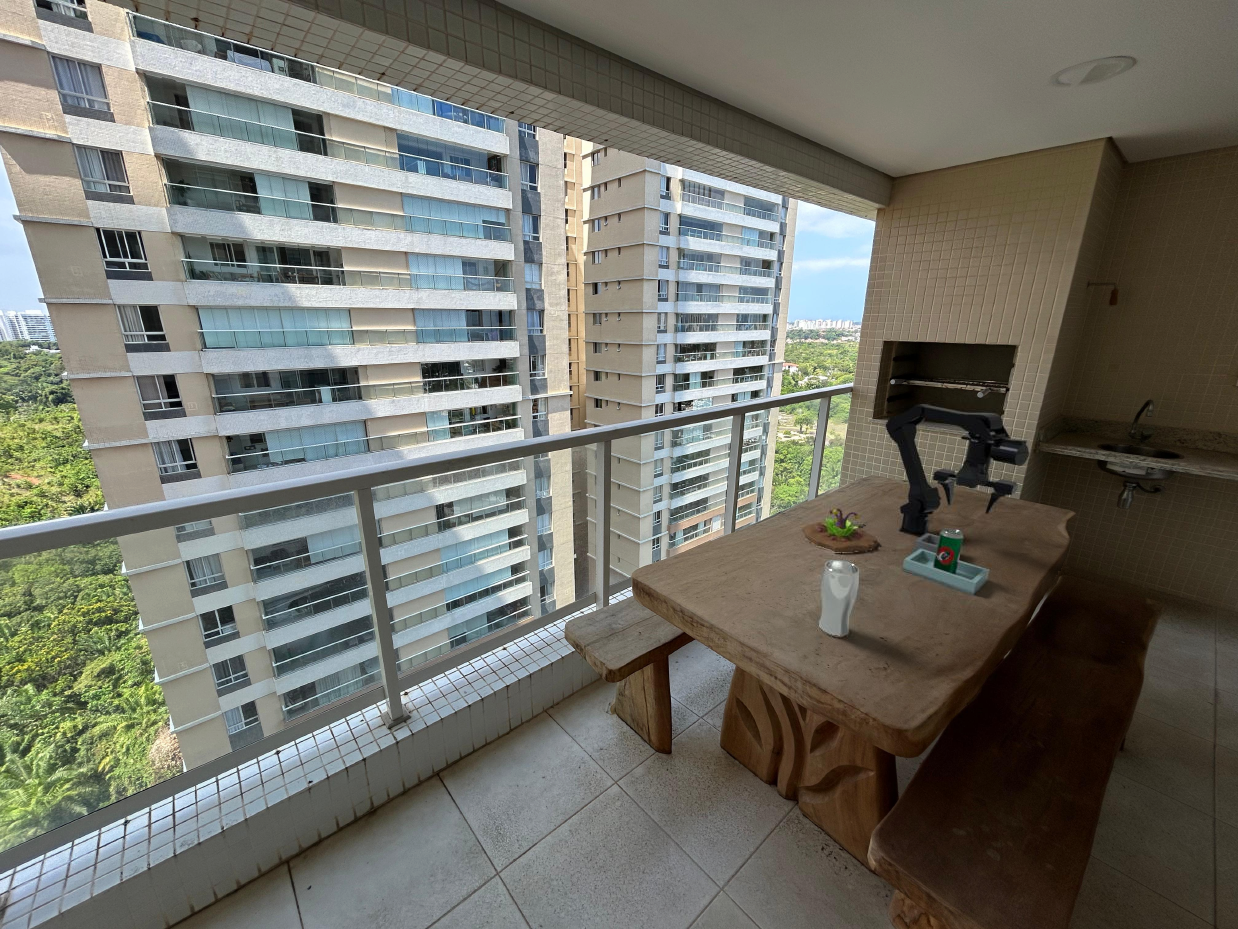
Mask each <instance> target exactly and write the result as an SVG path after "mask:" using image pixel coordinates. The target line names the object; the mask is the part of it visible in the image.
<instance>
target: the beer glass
mask: <svg viewBox="0 0 1238 929" xmlns="http://www.w3.org/2000/svg"><path fill="white" fill-rule="evenodd" d="M859 579H860V568H859V567H858V566H857V565H855V564H854V563H851V562H849V561H846V560H841V559H829V560H827V561H826V562H825V563H824V567H823V571H822V577H821V584H820V590H821V591H820V594H821V615H820V619H819V621H818V624H819V627H820V628H821V629H822V630H823V631H825V632H827V633H829V634H832V635H838V636H840V635H847V634H848V633H849V634H850V624H849V621H850V620H849V619H850V615H851V612H852V610H853V607H854V605H855V603H856V602H855V601H856V600H857V595H858V591H859V582H860V581H859ZM819 627H818V628H819ZM849 634H848V635H849ZM848 635H847V636H848Z"/></svg>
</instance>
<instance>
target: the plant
mask: <svg viewBox="0 0 1238 929" xmlns="http://www.w3.org/2000/svg"><path fill="white" fill-rule="evenodd" d="M838 513H839V514H838ZM828 514H829V515H833V514H834V516H835V517H836V518H834V519H832V518H829V517H826V518H825V519H826V520H825V521H826V522H815V523H811V524H807V525H804V526H803V527H802V529H801V533H802V532H803V533H804V535H805V537H804V539H805V538H807V539H808V540H809V541H811V542H813V543H814V544H815V545H817V546H821V547H824V548H827V549H830V550H832V551H834V552H841V553H842V552H855V551H868V550H869V549H874V548H875V547H877V546H878V539H877V537H875V535H873V534H870V533H868V532H866V531H865V530H863V529H861V528H859V527H858V526H856V525H855V526H854V525H853V526H851V524H852V521H850V520H849V517H850V516H851V515H853V517H854V518H855V519H859V516H860V515H859V514H858V513H856V512H853V511H851V512H849V513H847V514H846V515H845V516H843V511H842V509H841V508H835V509H834V510H833V509H829V510H828ZM869 551H870V550H869ZM869 551H868V552H869Z"/></svg>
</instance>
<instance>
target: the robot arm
mask: <svg viewBox="0 0 1238 929" xmlns="http://www.w3.org/2000/svg"><path fill="white" fill-rule="evenodd" d="M925 419H926V420H931V421H935V422H938V423H939V422H940V423H943V424H949V425H953V426H956V427H959V428H961V429H962V430H964V431H965V432H967V433H966V434H965V435H962V436H961V437H960V439H961V440H962V441H963V440H964V441H968V444H967V448H966V455H965V459H964V461H963V465H962V466H961V468H960V469H959V470H958V472H957V473H956V470H953V469H952V470H951V469H947V468H940V469H938V470H936V471H934V472H933V474H932V475H933V476H932V480H933V481H936V483H937V484H938V485H941V487H942V489H943V490H944V494H945V498H946V501H947V505H949V506H951V504H952V502H953V497H954V492H955V485H956V486H958V487H961V486H962V487H966V488H969V489H975V488H977V487H978V486H981V487H985V488H991V489H993V491H992V492H991V493H990V498H989V501H988V505H987V506H986V510H985V514H986V515H987V514H989V513H990V511H991V510H992V509H993V507H994V506H995V505H996V503H998V502H999V500H1000V499H1001V498H1002V497H1004V498H1005V497H1007V496H1012V495H1014V494H1015V493H1016V492H1017V491H1018V487H1019V486H1018V483H1017V481H1014V480H1007V479H1002V478H1000V479H999V480H997V481H994V480H990V478H989V477H990V475H989V471H990V467H991V463H992V460H993V461H994V462H998V463H1002V464H1008V465H1013V466H1018V467H1021V466H1023V465H1024V464H1025V463H1026V462H1027V460H1028V458H1029V457H1030V451H1029V447H1028V445H1027V442H1028V441H1027V440H1026V439H1014V438H1011V436H1010V434H1009V433H1008V431H1007V429H1006V427H1005V426H1004V421H1003V418H1002V417H1001V415H1000V414H998V413H993V412H963V411H960V410H956V409H955V410H954V409H949V408H944V407H940V406H933V405H930V404H928V403H926V404H925V403H924V404H916V405H914V406H913V407H911V408H910V409H908V410H905V411H904V412H902V413H900V414H898V415H896V416H892V417H890V418H888V420H887V422H886V423H885V430H886V432H887V434H888V435H889V437H890V439H891V440H893V441H894V443H895V444H896V446H897V447H898V451H899V454H900V458H901V461H902V464H903V467H904V471H905V474H906V478H907V481H908V484H909V489H908V494H907V500H908V502H906V503H905V504H903V505H901V506H900V507H899V511H900V514H901V515H902V516H903V517H902V522H901V527H899V528H898V531H900V532H903V533H907V534H909V535H913V536H915V537H916V536H917V537H922V536H923V535H925V534H927V533H928V531H929V528H930V520H929V517H930V515H933V513H934V512H935V511H937V510H938V509H939V508H940V506H941V500H942V497H941V496H940V493H939V488H938V487H937V486H936V487H932V486H931V485H930V484H929V482H928V480H927V476H926V473H925V470H924V466H923V464H922V461H921V458H920V454H919V451H918V448H917V447H918V446H917V443H916V437H917V436H916V435H917V432H918V431H917V426H919V425H920V424H921V423H923V421H924V420H925Z"/></svg>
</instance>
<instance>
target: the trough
mask: <svg viewBox="0 0 1238 929" xmlns="http://www.w3.org/2000/svg"><path fill="white" fill-rule="evenodd" d="M935 555H936V553H933V552H930V551H927V550H924V549H919V550H917V551H916V552H914V553H913V552H912V553H911V554H910V555H909V556H907V557H905V558H904V560H903V565H902V571H903V570H904V571H903V572H907V573H908V572H909V574H911V573H912V575H914V576H917V577H920V578H923V579H925V578H926V580H929V581H932V582H935V583H937V584H940V585H942V584H943V585H942V586H945V585H946V586H945V587H949V588H951V589H954V590H956V591H960V592H962V593H965V594H968V595H971V596H974V595H975V594H976V593H977V592H978V591H979V590H980V589H981V588H982V587H983V586H984V585H985V584H986V582H987V581H988V577H989V573H990V569H988V568H984V567H981V566H978V565H974V564H972V563H969V562H965V561H962V560H959V562H958V566H957V571H956V574H955V575H954V574H951V573H948V572H945V571H942V570H939V569H936V568H933V565H934V560H935Z"/></svg>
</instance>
